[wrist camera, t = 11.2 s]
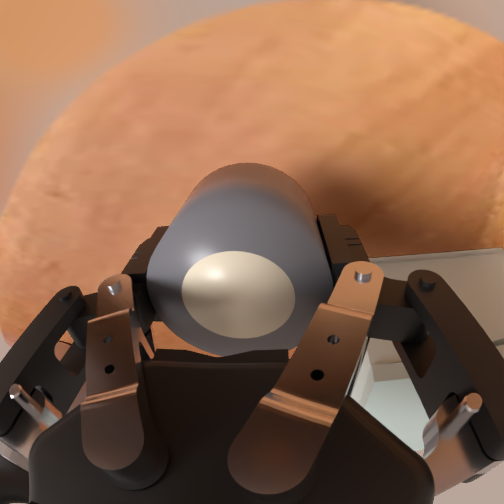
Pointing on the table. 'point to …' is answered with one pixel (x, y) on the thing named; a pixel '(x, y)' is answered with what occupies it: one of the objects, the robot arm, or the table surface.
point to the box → (462, 283)
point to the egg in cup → (241, 263)
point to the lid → (397, 402)
